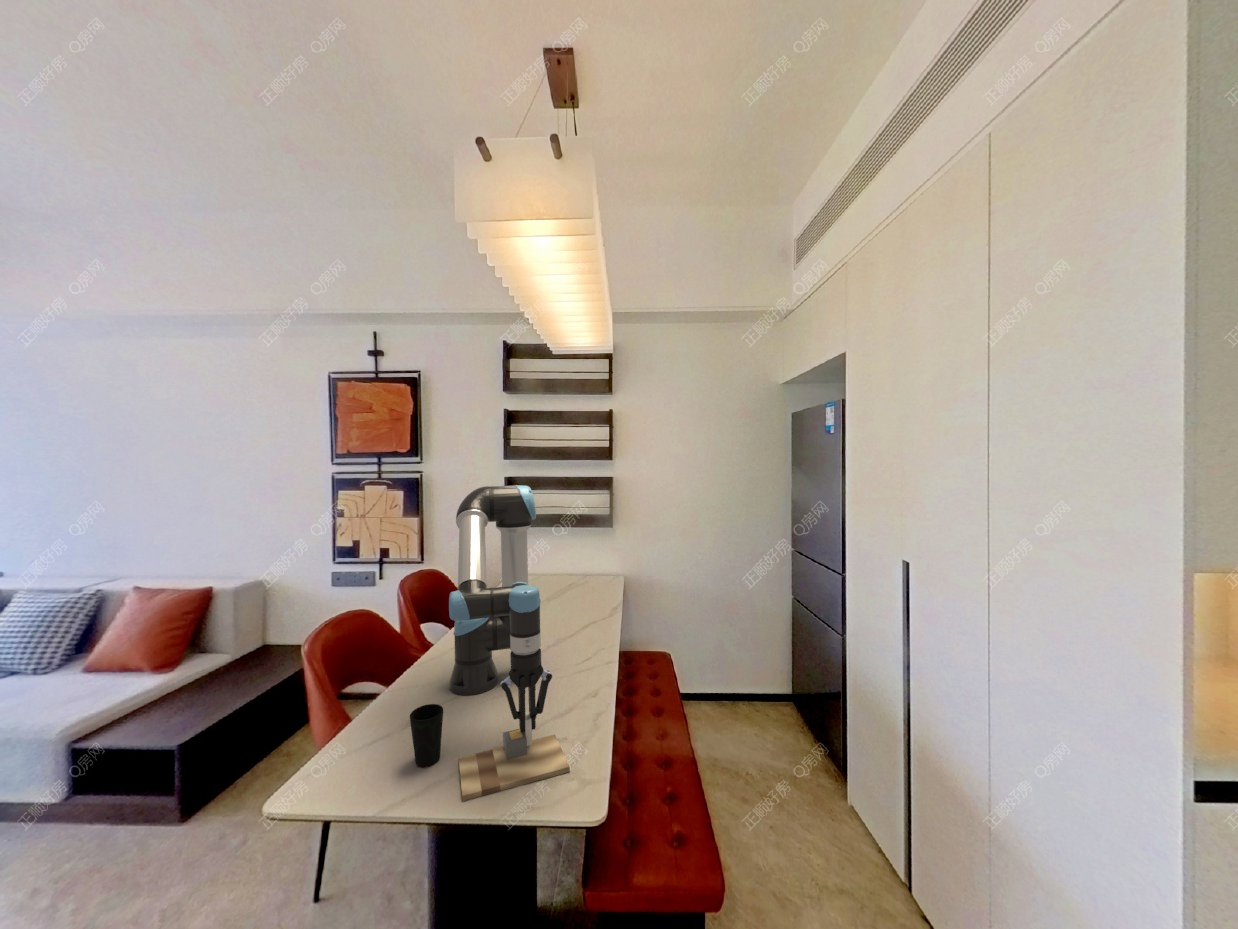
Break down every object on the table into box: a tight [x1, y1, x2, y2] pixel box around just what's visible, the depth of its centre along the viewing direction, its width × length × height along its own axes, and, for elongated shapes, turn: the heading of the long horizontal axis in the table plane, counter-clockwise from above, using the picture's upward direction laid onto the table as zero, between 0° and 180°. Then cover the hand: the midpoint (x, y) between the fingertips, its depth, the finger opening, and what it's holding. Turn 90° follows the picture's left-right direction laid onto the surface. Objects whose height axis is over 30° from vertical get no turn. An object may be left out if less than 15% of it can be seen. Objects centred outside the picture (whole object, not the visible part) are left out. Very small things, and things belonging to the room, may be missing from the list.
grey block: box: [502, 728, 527, 760], centre depth 117 cm, size 5×5×4 cm
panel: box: [458, 733, 571, 802], centre depth 113 cm, size 14×24×1 cm, turn 112°
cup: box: [409, 703, 444, 769], centre depth 116 cm, size 8×8×12 cm
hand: (527, 742), depth 118 cm, fingers closed
